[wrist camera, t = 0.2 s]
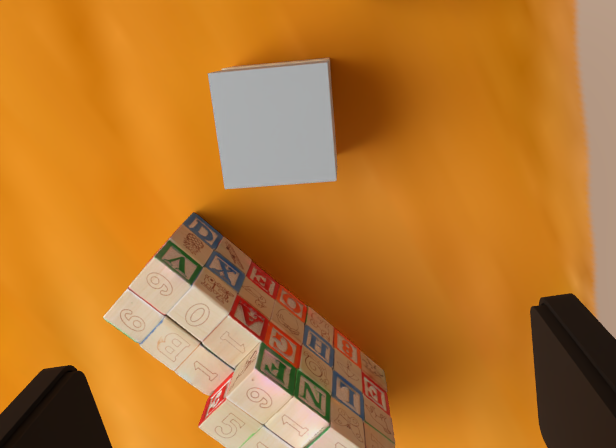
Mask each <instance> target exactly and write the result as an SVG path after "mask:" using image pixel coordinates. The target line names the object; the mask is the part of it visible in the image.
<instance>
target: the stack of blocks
mask: <svg viewBox="0 0 616 448" xmlns="http://www.w3.org/2000/svg"><path fill="white" fill-rule="evenodd" d="M103 318H104V319H105V320H106V321H107V322H109V323H110V324H112V325H113V326H114V327H116V328H117V329H118V330H120V331H121V332H123V333H124V334H125V335H126V336H128V337H129V338H131V339H132V340H133V341H135V342H137V343H139V344H140V347H141V348H143V349H144V350H146V351H147V352H148V353H150V354H151V355H152V356H153V357H155V358H156V359H158V360H159V361H160V362H162V363H163V364H164V365H166V366H167V367H168V368H170V369H171V370H173V371H175V373H176V374H177V375H178V376H180V377H181V378H183V379H184V380H185V381H187V382H188V383H189V384H191V385H192V386H194V387H195V388H197V389H198V390H199V391H201V392H202V393H204V394H206V395H210V397H209V398H208V400H207V402H206V405H205V409H204V411H203V414H202V416H201V419H200V422H199V426H198V427H199V428H200V429H201V430H203V431H204V432H205V433H207V434H208V435H210V436H211V437H212V438H214V439H215V440H217V441H218V442H219V443H221V444H222V445H223V446H225V447H226V448H395V439H394V432H393V425H392V419H391V417H390V410H389V403H388V397H387V393H386V392H387V385H386V379H385V373H384V370H383V369H381V368H380V367H379V366H378V365H377V364H375V363H374V362H373V361H372V360H371V359H370V358H368V357H367V356H366V355H365V354H364V353H363V352H361V351H360V349H359V348H358V347H357V346H356V345H354V344H353V343H352V342H351V341H350V340H349V339H347V338H346V337H345V336H344V335H343V334H341V333H340V332H339V331H338V330H337V329H335V328H334V327H333V326H332V325H331V324H330V323H328V322H327V321H326V320H325V319H324V318H323V317H321V316H320V315H319V314H318V313H317V312H315V311H314V310H313V309H312V308H310V307H309V306H306V305H305V304H304V303H303V302H302V301H300V300H299V299H298V298H296V297H295V296H294V295H293V294H292V293H290V292H289V291H288V290H287V289H286V288H284V287H283V286H282V285H280V284H278V283H277V282H276V281H275V280H274V279H273V278H272V277H270V276H269V275H268V274H267V273H266V272H264V271H263V270H262V269H261V268H260V267H258V266H257V265H256V264H255V263H253V262H252V260H251V258H249V257H248V256H247V255H246V254H245V253H243V252H242V251H241V250H240V249H238V248H237V247H236V246H235V245H234V244H233V243H231V242H230V241H229V240H228V239H227V238H225V237H223V236H222V235H221V234H220V233H219V232H218V231H217V230H215V229H214V228H213V227H212V226H211V225H209V224H208V223H207V222H206V221H205V220H203V219H202V218H201V217H200V216H199V215H197V214H196V213H194V212H193V213H192V214H191V215H190V216H189V217H188V218H187V219H186V221H185V222H184V223H183V224H182V225H181V226H180V227H179V228H178V229H177V230H176V231H175V232H174V233H173V235H172V236H171V237H170V238H169V239H168V240H167V241H166V242H165V244H164V245H163V246H162V247H161V248H160V249H159V250H158V251H157V252H156V254H155V255H154V256H153V257H152V258H151V259H150V260H149V262H148V263H147V264H146V266H145V267H144V269H143V270H142V271H141V272H140V273H139V275H138V276H137V277H136V278H135V279H134V281H133V282H132V283H131V284H130V285H129V287H128V289H127V290H126V291H125V292H124V293H123V294H122V296H121V297H120V298H119V299H118V300H117V301H116V302H115V304H114V305H113V306H112V307H111V308H110V309H109V311H108V312H107V313H106V314H105V315H104V317H103Z"/></svg>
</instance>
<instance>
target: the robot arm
mask: <svg viewBox="0 0 616 448" xmlns="http://www.w3.org/2000/svg"><path fill="white" fill-rule="evenodd" d="M530 315H531V328H532V341H533V354H534V367H535V380H536V393H537V405H538V418H539V425H540V430H541V433H542V436H543V439H544V441H545V443H546V445H547V447H548V448H616V339H615V338H614V337H613V336H612V335H611V334H610V333H609V332H608V331H607V330H606V329H605V328H604V327H603V325H602V324H601V323H600V322H599V321H598V320H597V319H596V318H595V317H594V316H593V315H592V313H591V312H590V311H589V310H588V309H587V308H586V307H585V306H584V305H583V304H582V303H581V302H580V301H579V299H578V298H577V297H576V296H575V295H573V294H572V293H571V294H563V295H556V296H549V297H542V298H541V299H540V301H539V306H532V307H531V310H530ZM0 448H112V446H111V443H110V440H109V438H108V435H107V433H106V430H105V427H104V425H103V422H102V419H101V417H100V414H99V411H98V409H97V406H96V403H95V401H94V398H93V395H92V393H91V390H90V387H89V385H88V382H87V379H86V377H85V375H84V373H83V372H81V371H77V369H76V368H75V367H74V366H71V365H68V366H61V367H54V368H47V369H43V370H42V371H41V372H40V373H39V374H38V375H37V376H36V377H35V378H34V379H33V380H32V381H31V382H30V383H29V384H28V385H27V386H26V388H25V389H24V390H23V391H22V392H21V393H20V394H19V395H18V396H17V397H16V398H15V399H14V400H13V401H12V403H11V404H10V405H9V406H8V407H7V408H6V409H5V410H4V411H3V412H2V413H1V414H0Z"/></svg>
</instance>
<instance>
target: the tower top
mask: <svg viewBox="0 0 616 448" xmlns="http://www.w3.org/2000/svg"><path fill="white" fill-rule="evenodd" d="M208 77H209V84H210V91H211V98H212V105H213V111H214V118H215V125H216V132H217V139H218V146H219V152H220V159H221V166H222V173H223V180H224V187H225V189H233V188H247V187H260V186H274V185H288V184H302V183H315V182H329V181H336V180H337V157H336V143H335V130H334V117H333V104H332V90H331V77H330V64H329V60H325V61H315V62H304V63H293V64H283V65H272V66H261V67H251V68H240V69H229V70H221V71H217V72H213V73H208Z"/></svg>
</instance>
